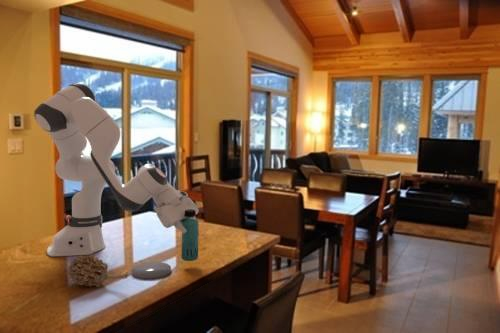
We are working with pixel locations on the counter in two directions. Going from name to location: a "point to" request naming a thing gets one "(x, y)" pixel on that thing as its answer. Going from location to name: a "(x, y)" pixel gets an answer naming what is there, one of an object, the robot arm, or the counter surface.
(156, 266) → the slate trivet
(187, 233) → the beverage bottle
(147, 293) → the counter surface
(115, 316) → the counter surface
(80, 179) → the robot arm
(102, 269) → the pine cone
